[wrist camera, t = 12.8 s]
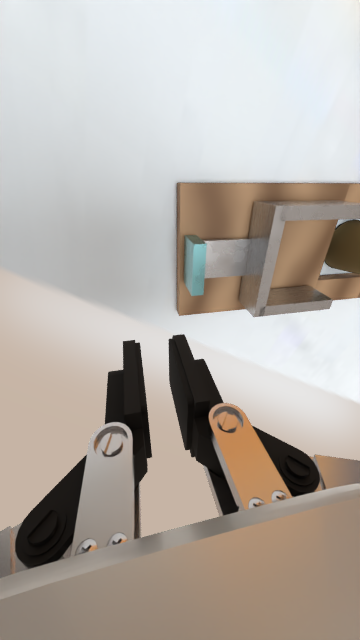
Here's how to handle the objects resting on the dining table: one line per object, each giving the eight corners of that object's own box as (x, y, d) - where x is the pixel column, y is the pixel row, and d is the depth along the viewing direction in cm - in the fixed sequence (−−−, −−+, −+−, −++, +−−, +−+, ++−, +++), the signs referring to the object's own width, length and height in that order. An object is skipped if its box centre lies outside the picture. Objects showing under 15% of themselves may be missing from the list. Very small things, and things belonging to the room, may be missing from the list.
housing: (183, 305, 28) (191, 323, 25) (185, 201, 22) (196, 207, 19) (307, 294, 31) (329, 308, 28) (337, 200, 25) (370, 204, 22)
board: (176, 309, 30) (179, 315, 29) (177, 182, 23) (180, 183, 22) (361, 292, 35) (370, 296, 34) (410, 183, 28) (424, 184, 27)
